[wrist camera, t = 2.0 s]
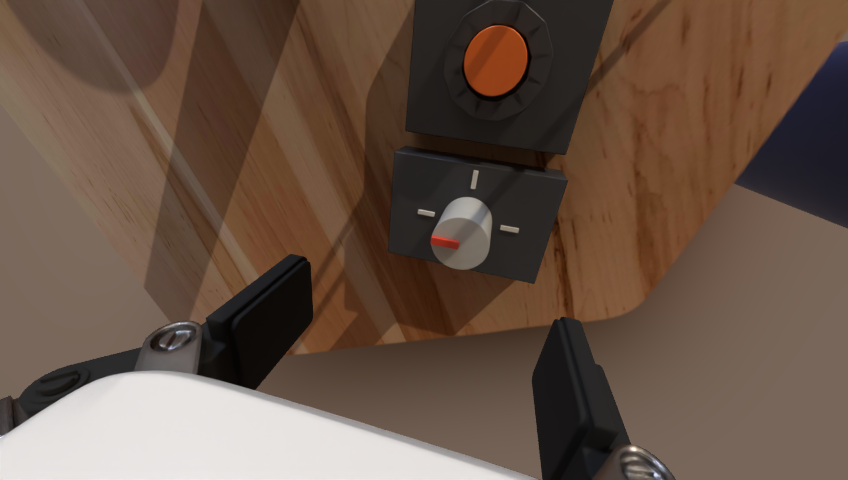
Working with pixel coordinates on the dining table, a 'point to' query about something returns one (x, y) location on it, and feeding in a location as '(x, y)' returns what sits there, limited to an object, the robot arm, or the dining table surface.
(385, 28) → the dining table surface
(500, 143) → the button block
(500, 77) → the button
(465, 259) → the temp dial
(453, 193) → the dial panel
